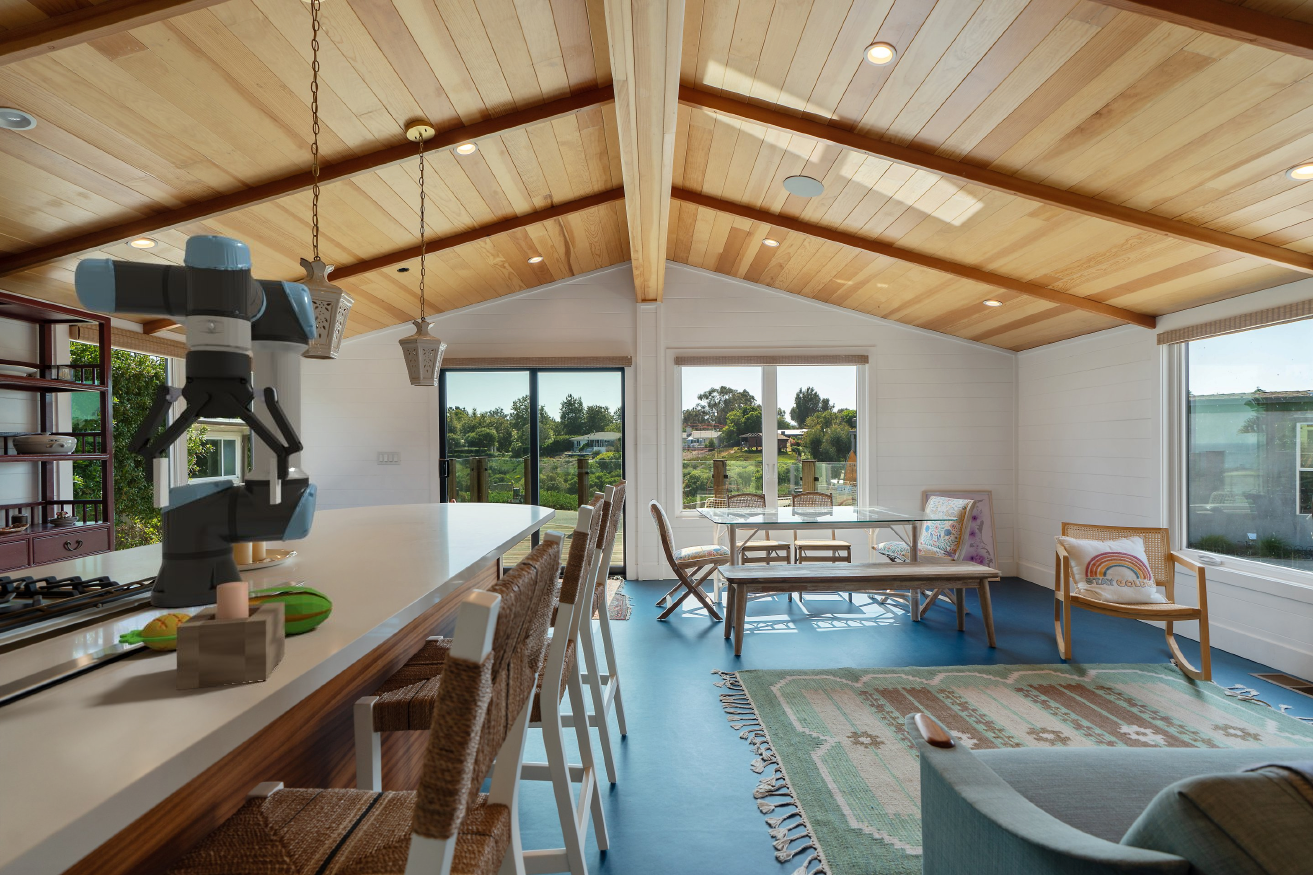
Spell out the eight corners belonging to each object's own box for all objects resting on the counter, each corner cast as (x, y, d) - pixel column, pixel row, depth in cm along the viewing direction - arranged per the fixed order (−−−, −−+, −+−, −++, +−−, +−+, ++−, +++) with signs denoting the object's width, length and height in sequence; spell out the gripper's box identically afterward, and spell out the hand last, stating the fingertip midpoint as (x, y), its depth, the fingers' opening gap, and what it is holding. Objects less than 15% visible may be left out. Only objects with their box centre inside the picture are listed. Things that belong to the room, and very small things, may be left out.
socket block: (205, 663, 91) (205, 607, 91) (284, 656, 94) (284, 601, 94) (176, 689, 82) (176, 627, 82) (266, 680, 85) (265, 620, 85)
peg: (222, 669, 89) (221, 582, 89) (252, 665, 90) (251, 580, 90) (213, 678, 86) (212, 588, 86) (244, 674, 87) (243, 586, 87)
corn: (330, 586, 106) (184, 598, 98) (329, 633, 105) (183, 648, 98) (334, 580, 113) (198, 590, 105) (334, 624, 112) (197, 638, 105)
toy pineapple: (203, 650, 97) (203, 614, 97) (116, 664, 91) (116, 626, 91) (202, 638, 103) (202, 605, 103) (121, 651, 97) (120, 615, 97)
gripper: (94, 343, 81) (95, 511, 82) (314, 352, 89) (315, 504, 89) (122, 350, 88) (123, 504, 89) (324, 357, 96) (324, 499, 97)
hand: (219, 505), depth 89 cm, fingers open, 13 cm apart
